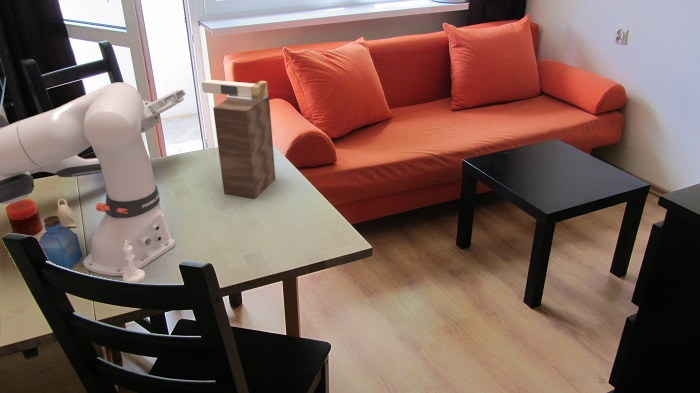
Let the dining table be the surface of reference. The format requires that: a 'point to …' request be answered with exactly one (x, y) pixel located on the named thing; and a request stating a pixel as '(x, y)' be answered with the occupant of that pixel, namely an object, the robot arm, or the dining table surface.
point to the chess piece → (132, 266)
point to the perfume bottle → (60, 243)
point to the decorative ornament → (66, 215)
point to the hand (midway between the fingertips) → (174, 96)
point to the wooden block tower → (245, 142)
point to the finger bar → (227, 88)
